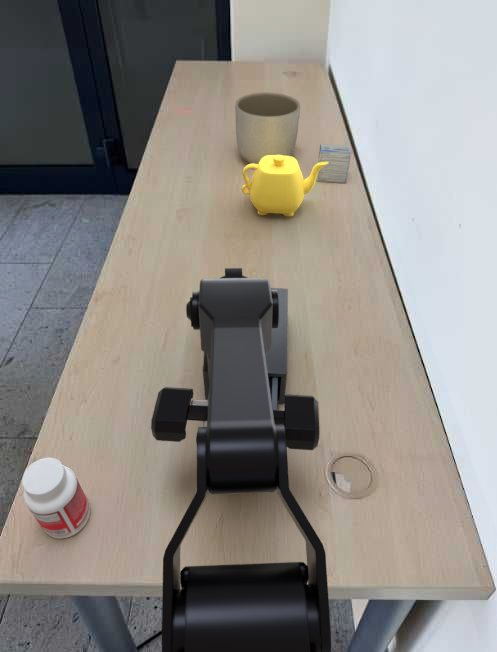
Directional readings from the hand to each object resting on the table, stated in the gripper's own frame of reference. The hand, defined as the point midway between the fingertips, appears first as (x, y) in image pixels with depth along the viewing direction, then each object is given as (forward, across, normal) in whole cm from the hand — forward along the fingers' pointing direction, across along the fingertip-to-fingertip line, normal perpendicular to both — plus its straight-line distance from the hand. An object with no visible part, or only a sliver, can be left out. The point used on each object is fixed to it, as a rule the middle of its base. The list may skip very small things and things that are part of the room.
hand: (236, 454), depth 62 cm
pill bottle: (+8, +22, +6) cm, 24 cm away
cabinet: (+8, 0, -24) cm, 25 cm away
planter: (+9, 0, -99) cm, 99 cm away
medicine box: (+8, -18, -89) cm, 91 cm away
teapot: (+8, -5, -74) cm, 75 cm away
